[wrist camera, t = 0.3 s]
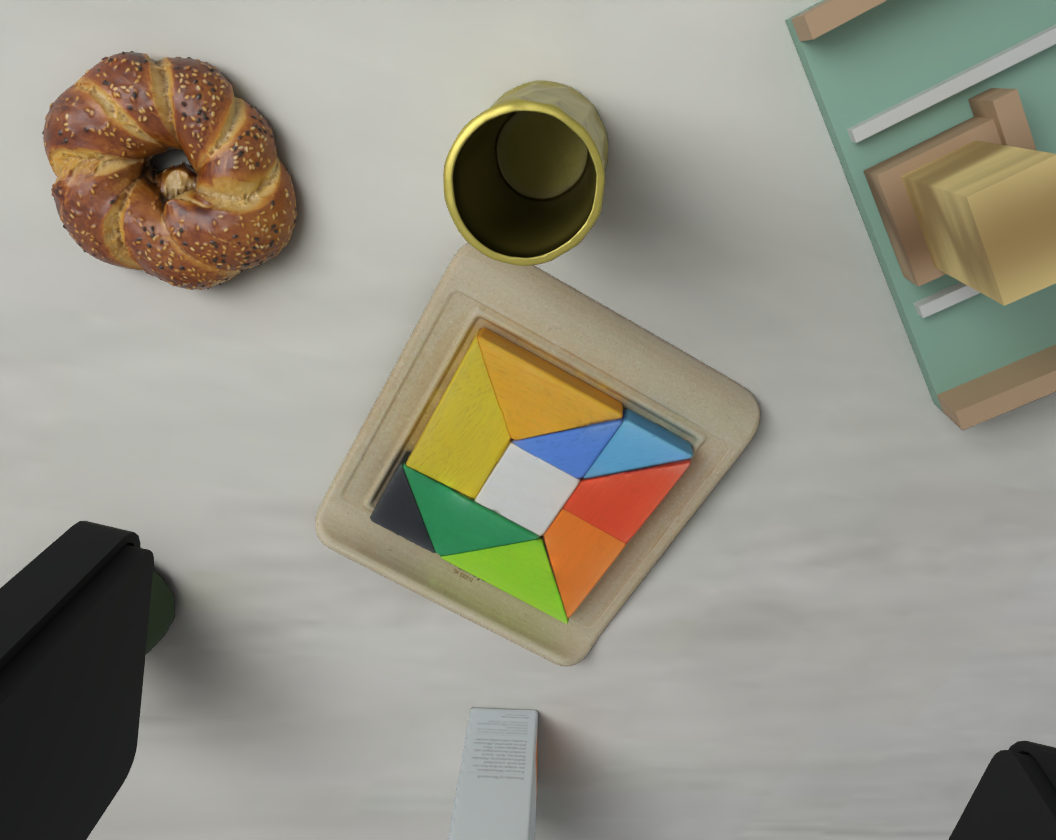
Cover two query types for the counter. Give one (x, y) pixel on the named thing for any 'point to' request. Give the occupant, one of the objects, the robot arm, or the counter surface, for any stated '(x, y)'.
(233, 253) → the sesame bagel
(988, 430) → the counter surface
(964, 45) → the pitch
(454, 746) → the counter surface
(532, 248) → the vase
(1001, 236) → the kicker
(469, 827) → the skincare box
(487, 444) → the wooden puzzle
